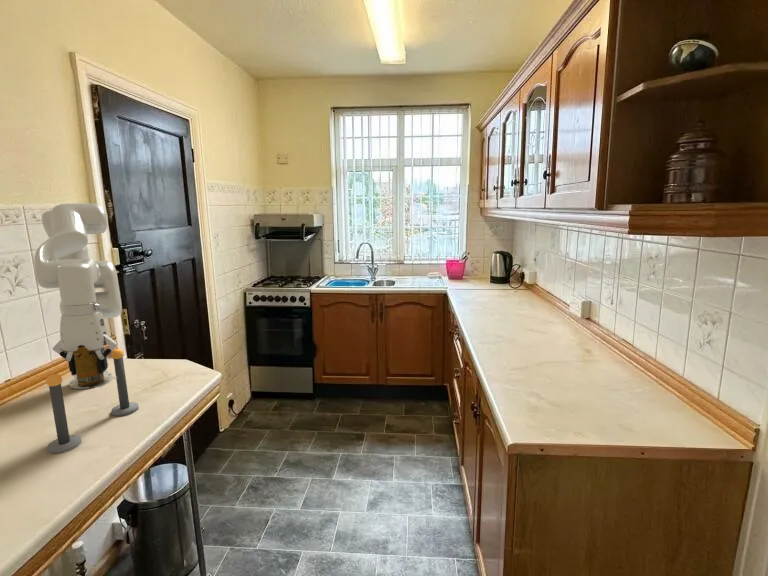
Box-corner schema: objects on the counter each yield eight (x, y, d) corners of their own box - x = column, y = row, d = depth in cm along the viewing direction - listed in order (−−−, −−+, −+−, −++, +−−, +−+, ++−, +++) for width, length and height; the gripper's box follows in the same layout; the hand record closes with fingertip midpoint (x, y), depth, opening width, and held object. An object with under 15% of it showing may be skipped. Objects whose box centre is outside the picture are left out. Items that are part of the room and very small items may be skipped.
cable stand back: (117, 406, 133) (108, 346, 129) (141, 404, 134) (134, 344, 130) (107, 417, 126) (98, 353, 122) (133, 414, 127) (125, 351, 123)
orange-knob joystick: (56, 440, 114) (45, 370, 110) (86, 437, 115) (75, 368, 111) (41, 454, 107) (28, 381, 103) (73, 451, 108) (61, 378, 105)
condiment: (88, 377, 122) (82, 336, 120) (117, 377, 122) (112, 337, 119) (69, 388, 115) (62, 345, 112) (100, 388, 115) (94, 346, 112)
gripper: (121, 304, 119) (129, 365, 123) (51, 307, 116) (61, 369, 120) (110, 311, 112) (118, 375, 116) (35, 314, 109) (46, 380, 112)
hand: (89, 372), depth 118 cm, fingers closed on condiment, 6 cm apart
